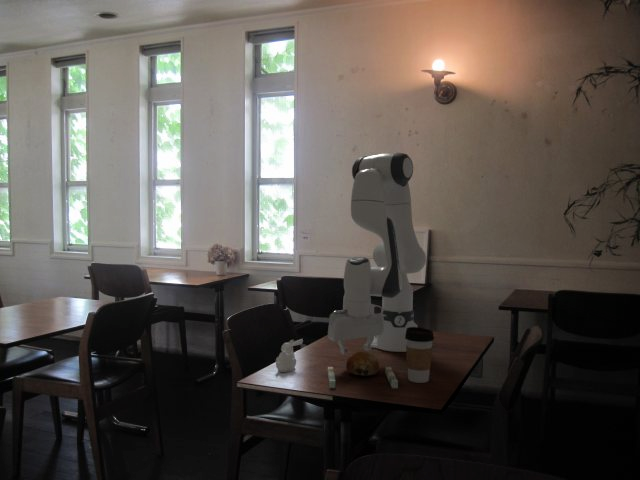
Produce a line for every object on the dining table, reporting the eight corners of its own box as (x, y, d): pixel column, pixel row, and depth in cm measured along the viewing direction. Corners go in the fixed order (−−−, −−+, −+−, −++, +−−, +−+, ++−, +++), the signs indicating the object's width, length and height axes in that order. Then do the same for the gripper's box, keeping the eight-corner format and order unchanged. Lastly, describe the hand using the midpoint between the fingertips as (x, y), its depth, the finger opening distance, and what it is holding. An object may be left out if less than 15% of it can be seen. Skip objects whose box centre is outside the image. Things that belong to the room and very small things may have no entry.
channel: (327, 373, 175) (327, 366, 175) (390, 373, 175) (390, 367, 175) (329, 388, 161) (329, 381, 161) (397, 388, 161) (398, 381, 161)
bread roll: (380, 384, 175) (386, 359, 177) (368, 375, 167) (374, 349, 169) (351, 378, 180) (358, 354, 182) (338, 369, 172) (345, 344, 174)
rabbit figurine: (283, 363, 186) (283, 333, 185) (305, 364, 184) (306, 335, 184) (272, 373, 174) (272, 342, 173) (296, 375, 172) (296, 343, 172)
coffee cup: (413, 373, 176) (414, 325, 175) (438, 379, 170) (439, 329, 169) (398, 380, 169) (399, 329, 168) (424, 386, 164) (425, 334, 163)
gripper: (335, 313, 175) (334, 358, 175) (387, 307, 186) (386, 349, 187) (324, 309, 180) (323, 353, 181) (375, 304, 191) (374, 345, 192)
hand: (355, 351), depth 184 cm, fingers open, 8 cm apart
